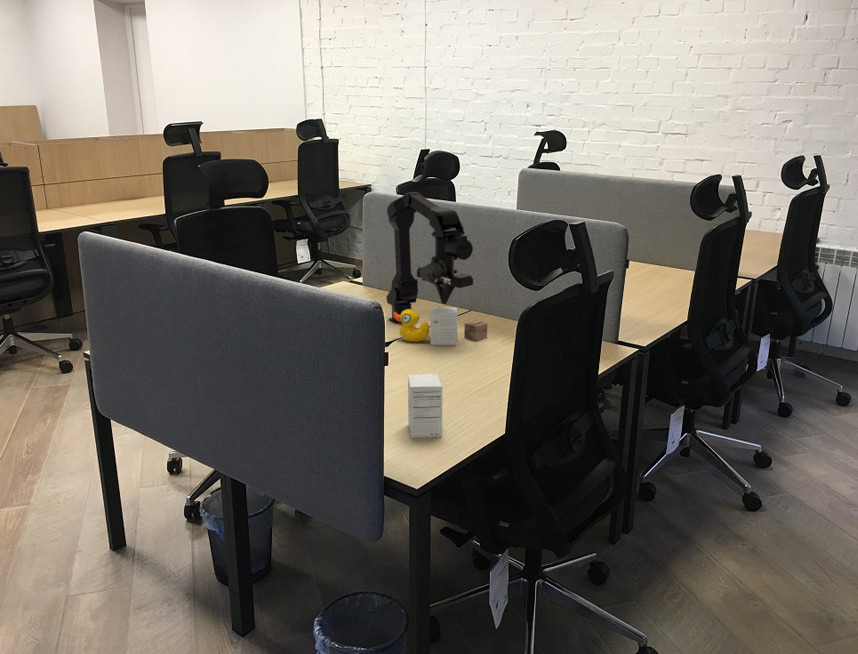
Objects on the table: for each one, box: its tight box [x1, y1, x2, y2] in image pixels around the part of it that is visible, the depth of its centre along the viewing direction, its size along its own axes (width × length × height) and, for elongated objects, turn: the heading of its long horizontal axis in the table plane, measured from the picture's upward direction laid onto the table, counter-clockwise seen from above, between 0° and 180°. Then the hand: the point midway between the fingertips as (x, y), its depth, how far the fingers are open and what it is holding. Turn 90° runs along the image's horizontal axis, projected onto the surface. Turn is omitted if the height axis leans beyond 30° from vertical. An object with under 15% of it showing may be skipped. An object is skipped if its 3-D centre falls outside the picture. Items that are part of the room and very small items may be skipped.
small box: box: [429, 306, 458, 346], centre depth 228 cm, size 8×6×10 cm
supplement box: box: [407, 373, 443, 439], centre depth 170 cm, size 7×7×13 cm
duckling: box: [393, 309, 430, 343], centre depth 229 cm, size 11×5×10 cm, turn 75°
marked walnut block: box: [463, 319, 488, 343], centre depth 233 cm, size 5×5×5 cm
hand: (444, 303), depth 226 cm, fingers closed
